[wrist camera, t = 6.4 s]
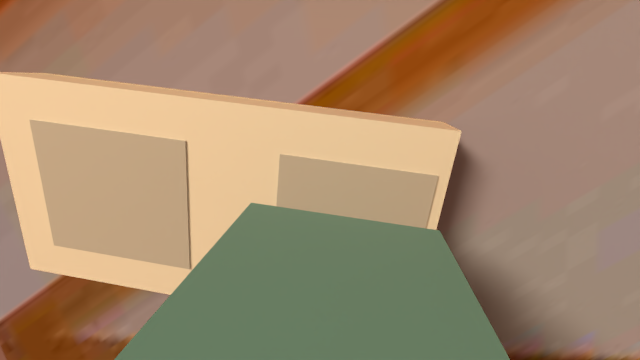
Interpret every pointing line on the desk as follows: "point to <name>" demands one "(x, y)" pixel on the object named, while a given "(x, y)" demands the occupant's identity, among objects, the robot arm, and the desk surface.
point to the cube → (320, 296)
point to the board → (196, 171)
